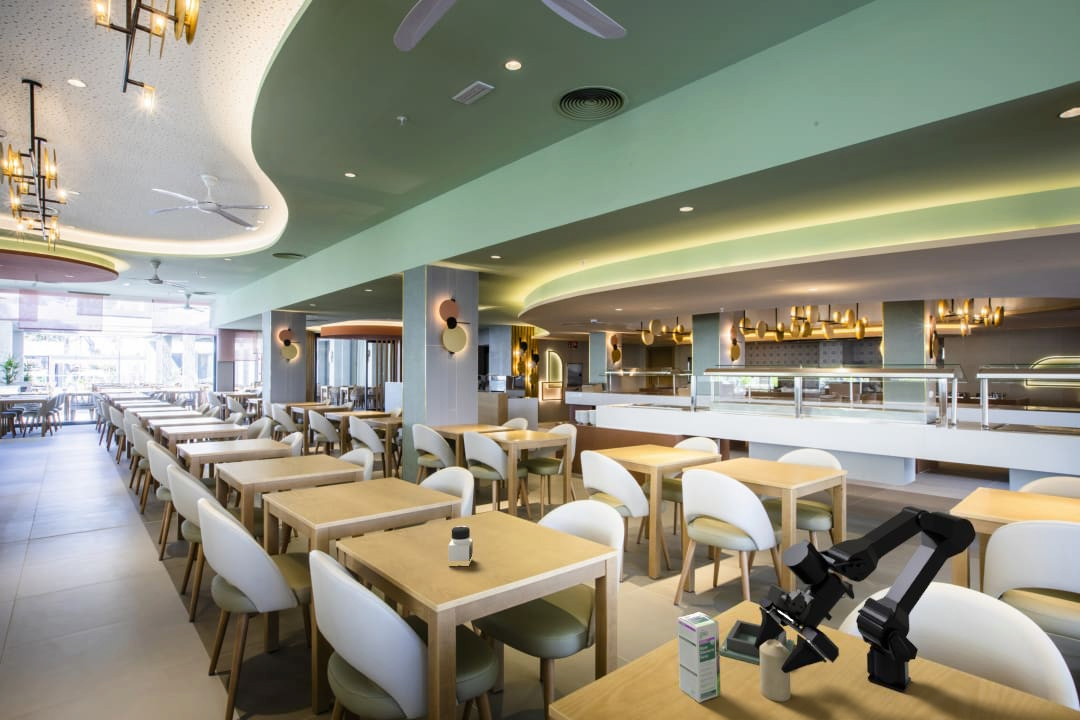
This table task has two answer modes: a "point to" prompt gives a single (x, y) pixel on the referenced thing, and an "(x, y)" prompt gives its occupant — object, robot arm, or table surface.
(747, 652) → the header socket
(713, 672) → the syrup box
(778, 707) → the table surface
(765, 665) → the candle
